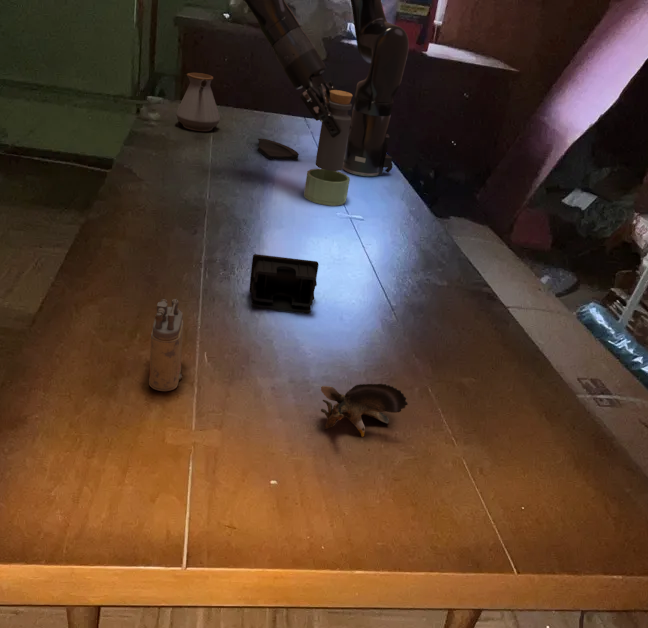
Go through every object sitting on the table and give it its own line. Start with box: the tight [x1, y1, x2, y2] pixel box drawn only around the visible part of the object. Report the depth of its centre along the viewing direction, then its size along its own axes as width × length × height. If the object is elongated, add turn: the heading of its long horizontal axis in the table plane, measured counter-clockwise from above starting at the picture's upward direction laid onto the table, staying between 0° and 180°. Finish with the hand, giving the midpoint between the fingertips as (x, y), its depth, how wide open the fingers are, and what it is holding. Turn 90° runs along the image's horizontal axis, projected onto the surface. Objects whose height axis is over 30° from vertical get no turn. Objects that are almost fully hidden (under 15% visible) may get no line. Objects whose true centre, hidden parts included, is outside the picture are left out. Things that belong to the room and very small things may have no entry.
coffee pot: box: [175, 72, 221, 132], centre depth 185 cm, size 21×12×15 cm, turn 10°
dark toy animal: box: [320, 383, 409, 438], centre depth 87 cm, size 8×7×9 cm
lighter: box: [148, 298, 185, 392], centre depth 88 cm, size 7×4×10 cm, turn 2°
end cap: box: [248, 253, 319, 315], centre depth 112 cm, size 10×7×7 cm
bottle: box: [314, 89, 353, 172], centre depth 151 cm, size 6×6×15 cm
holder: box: [303, 168, 351, 207], centre depth 158 cm, size 9×9×5 cm
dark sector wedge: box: [257, 138, 300, 161], centre depth 183 cm, size 8×14×2 cm, turn 23°
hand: (342, 132), depth 151 cm, fingers closed on bottle, 6 cm apart
